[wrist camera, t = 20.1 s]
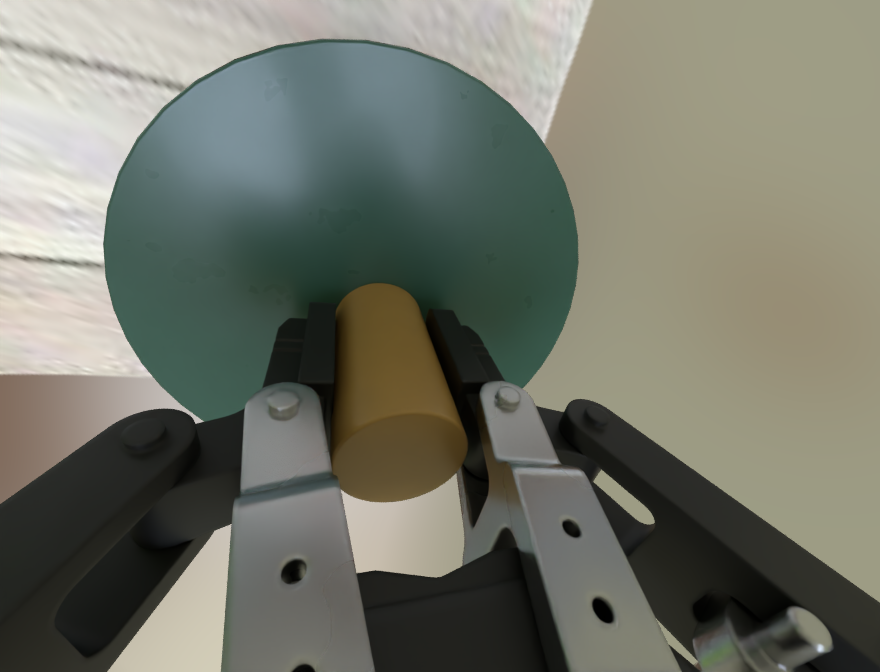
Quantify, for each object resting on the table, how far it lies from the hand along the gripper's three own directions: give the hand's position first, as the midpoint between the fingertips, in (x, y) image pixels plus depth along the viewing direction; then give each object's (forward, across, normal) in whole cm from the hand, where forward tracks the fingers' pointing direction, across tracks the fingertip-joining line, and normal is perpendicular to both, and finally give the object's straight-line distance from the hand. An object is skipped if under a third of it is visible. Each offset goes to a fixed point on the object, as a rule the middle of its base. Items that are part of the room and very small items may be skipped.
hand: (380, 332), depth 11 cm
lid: (+1, 0, 0) cm, 1 cm away
